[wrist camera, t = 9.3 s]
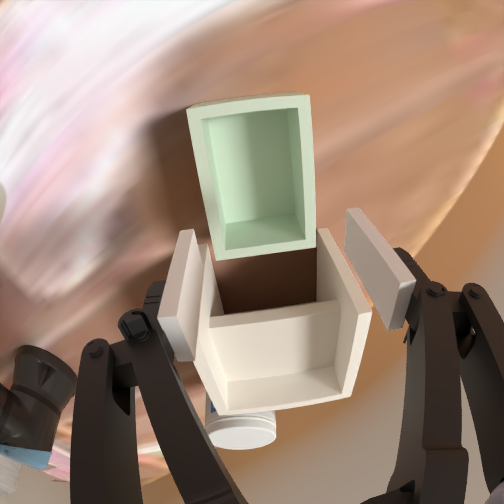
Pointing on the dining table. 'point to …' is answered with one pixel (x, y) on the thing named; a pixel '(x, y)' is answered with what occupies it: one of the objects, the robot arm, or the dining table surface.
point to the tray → (256, 172)
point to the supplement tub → (239, 428)
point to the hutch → (283, 342)
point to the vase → (9, 475)
